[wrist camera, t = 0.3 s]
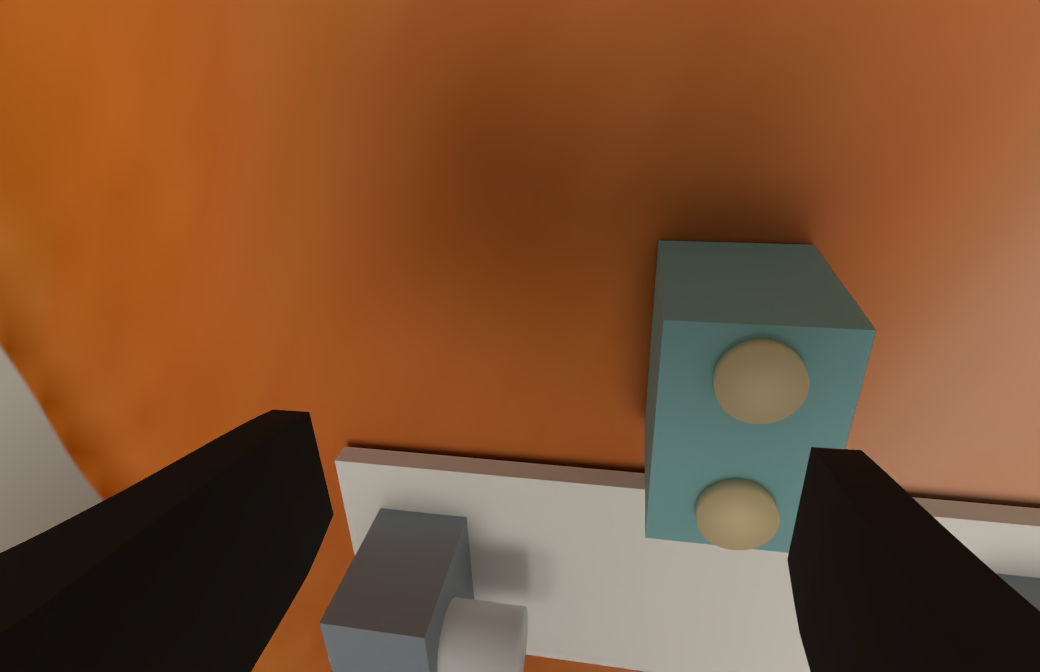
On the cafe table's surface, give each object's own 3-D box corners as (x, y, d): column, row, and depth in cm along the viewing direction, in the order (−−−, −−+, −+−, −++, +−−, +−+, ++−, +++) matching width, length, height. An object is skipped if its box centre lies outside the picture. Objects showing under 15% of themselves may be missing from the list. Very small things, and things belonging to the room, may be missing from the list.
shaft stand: (1037, 706, 22) (1147, 901, 17) (378, 616, 26) (318, 753, 22) (1145, 518, 18) (1331, 705, 13) (344, 446, 22) (259, 569, 17)
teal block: (777, 430, 19) (821, 569, 14) (644, 421, 20) (645, 549, 15) (813, 244, 16) (882, 339, 12) (658, 240, 17) (664, 328, 12)
